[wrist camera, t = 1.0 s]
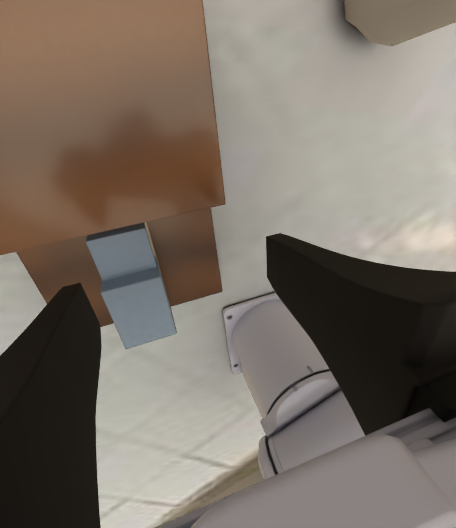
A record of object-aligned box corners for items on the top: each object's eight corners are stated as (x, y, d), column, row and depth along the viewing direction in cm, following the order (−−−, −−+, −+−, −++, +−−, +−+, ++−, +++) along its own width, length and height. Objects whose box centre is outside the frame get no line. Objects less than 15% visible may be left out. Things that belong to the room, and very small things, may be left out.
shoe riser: (217, 281, 25) (239, 324, 21) (69, 322, 23) (58, 381, 18) (174, 3, 15) (199, -29, 11) (-101, 23, 13) (-218, -8, 8)
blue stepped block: (169, 303, 23) (177, 335, 20) (124, 316, 22) (126, 351, 19) (142, 206, 18) (147, 230, 15) (85, 219, 17) (79, 246, 15)
